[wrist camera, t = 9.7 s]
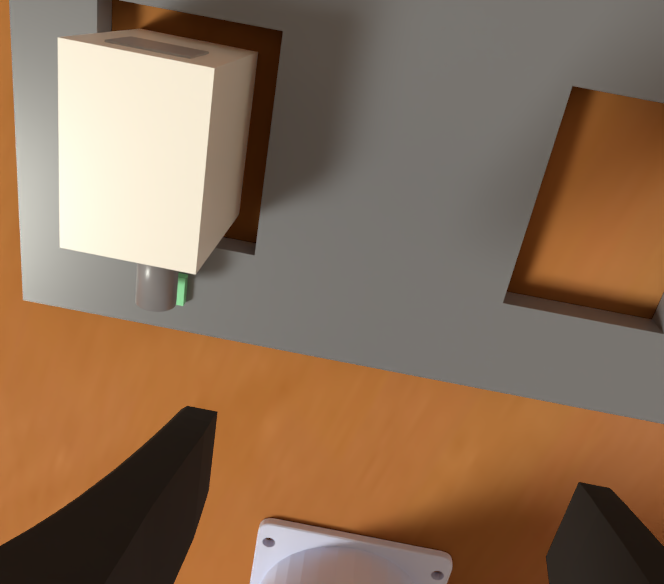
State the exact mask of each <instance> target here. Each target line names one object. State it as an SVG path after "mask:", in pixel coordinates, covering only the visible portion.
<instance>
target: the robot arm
mask: <svg viewBox="0 0 664 584" xmlns="http://www.w3.org/2000/svg"><path fill="white" fill-rule="evenodd" d="M216 420H217V412H216V411H211V410H206V409H200V408H195V407H190V406H186V407H185V408H183V409H181V410H180V411H179V412H178V413H177V414H176V415H175V416H174V417H173V418H172V419H171V420H170V421H169V422H168V423H167V424H166V425H165V426H164V427H163V428H162V429H161V430H159V431H158V432H157V433H156V434H155V435H154V436H153V437H152V438H151V439H150V440H149V441H147V442H146V443H145V444H144V445H143V446H142V447H141V448H139V449H138V450H137V451H136V452H135V453H134V454H132V455H131V456H130V457H129V458H128V459H126V460H125V461H124V462H123V463H122V464H121V465H119V466H118V467H117V468H116V469H114V470H113V471H112V472H111V473H109V474H108V475H107V476H105V477H104V478H103V479H101V480H100V481H99V482H98V483H96V484H95V485H94V486H92V487H91V488H90V489H88V490H87V491H86V492H84V493H83V494H82V495H80V496H79V497H78V498H76V499H75V500H73V501H72V502H70V503H69V504H67V505H66V506H65V507H63V508H62V509H60V510H59V511H57V512H56V513H54V514H53V515H51V516H49V517H48V518H46V519H45V520H43V521H42V522H40V523H38V524H37V525H35V526H34V527H32V528H30V529H29V530H27V531H25V532H24V533H22V534H20V535H18V536H17V537H15V538H13V539H11V540H10V541H8V542H6V543H5V544H3V545H1V546H0V584H174V582H175V579H176V577H177V575H178V573H179V570H180V568H181V566H182V564H183V561H184V559H185V557H186V554H187V552H188V550H189V548H190V545H191V543H192V541H193V538H194V535H195V532H196V529H197V526H198V523H199V520H200V517H201V514H202V510H203V507H204V504H205V501H206V498H207V494H208V491H209V483H210V474H211V465H212V456H213V447H214V438H215V429H216ZM266 538H271V539H273V540H268V539H266ZM546 561H547V569H548V578H549V584H664V546H663V545H662V544H661V543H660V542H659V541H658V540H657V539H656V538H655V536H654V535H653V534H652V533H651V532H650V531H649V530H648V529H647V528H646V526H645V525H644V524H643V523H642V522H641V521H640V520H639V519H638V518H637V516H636V515H635V514H634V513H633V512H632V511H631V510H630V509H629V508H628V507H627V505H626V504H625V503H624V502H623V501H622V500H621V499H620V498H619V497H618V496H617V495H616V494H615V493H614V492H613V491H612V490H611V489H610V488H607V487H601V486H596V485H591V484H586V483H581V482H579V483H578V485H577V488H576V490H575V492H574V494H573V497H572V499H571V501H570V503H569V506H568V508H567V510H566V513H565V515H564V517H563V519H562V522H561V524H560V526H559V528H558V531H557V533H556V535H555V538H554V540H553V542H552V544H551V547H550V549H549V551H548V553H547V556H546ZM452 566H453V564H452V558H451V556H450V555H449V554H448V553H446V552H443V551H439V550H434V549H429V548H423V547H418V546H413V545H408V544H403V543H398V542H393V541H388V540H383V539H377V538H372V537H367V536H362V535H357V534H352V533H347V532H342V531H337V530H332V529H326V528H321V527H316V526H311V525H306V524H301V523H296V522H291V521H286V520H280V519H275V518H267V519H264V520H263V521H261V523H260V526H259V530H258V536H257V542H256V549H255V555H254V561H253V567H252V573H251V579H250V584H447V582H448V579H449V576H450V574H451V571H452ZM434 571H440V572H434Z"/></svg>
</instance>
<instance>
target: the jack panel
mask: <svg viewBox="0 0 664 584" xmlns="http://www.w3.org/2000/svg"><path fill="white" fill-rule="evenodd" d="M121 1H127V2H132V3H137V4H142V5H148V6H153V7H158V8H163V9H169V10H174V11H179V12H185V13H190V14H195V15H200V16H206V17H211V18H216V19H222V20H227V21H232V22H237V23H243V24H248V25H253V26H258V27H264V28H269V29H274V30H280V31H283V35H282V43H281V51H280V59H279V67H278V74H277V82H276V90H275V98H274V106H273V114H272V122H271V130H270V138H269V146H268V154H267V161H266V169H265V177H264V185H263V193H262V201H261V209H260V217H259V225H258V233H257V241H256V243H252V242H246V241H241V240H236V239H231V238H225V237H222V239H221V240H220V242H219V243H218V244H217V246H216V247H215V249H214V250H213V251H212V253H211V254H210V255H209V257H208V258H207V260H206V261H205V262H204V264H203V265H202V266H201V268H200V269H199V271H198V272H197V273H196V275H195V274H190V273H185V272H180V271H179V275H178V288H177V301H176V306H175V307H174V308H173V309H171V310H168V311H163V312H152V311H147V310H144V309H141V308H140V307H138V306H137V305H136V303H135V298H136V277H137V263H135V262H130V261H125V260H120V259H115V258H110V257H105V256H100V255H95V254H90V253H85V252H80V251H75V250H70V249H65V248H60V237H59V134H58V37H65V36H75V35H84V34H93V33H103V32H111V31H112V0H9V6H10V28H11V49H12V71H13V92H14V114H15V136H16V157H17V179H18V200H19V222H20V243H21V265H22V287H23V300H26V301H31V302H36V303H41V304H46V305H51V306H57V307H62V308H67V309H72V310H77V311H82V312H88V313H93V314H98V315H103V316H108V317H113V318H119V319H124V320H129V321H134V322H139V323H144V324H150V325H155V326H160V327H165V328H170V329H175V330H181V331H186V332H191V333H196V334H201V335H206V336H212V337H217V338H222V339H227V340H232V341H237V342H243V343H248V344H253V345H258V346H263V347H268V348H274V349H279V350H284V351H289V352H294V353H300V354H305V355H310V356H315V357H320V358H325V359H331V360H336V361H341V362H346V363H351V364H356V365H362V366H367V367H372V368H377V369H382V370H387V371H393V372H398V373H403V374H408V375H413V376H418V377H424V378H429V379H434V380H439V381H444V382H449V383H455V384H460V385H465V386H470V387H475V388H480V389H486V390H491V391H496V392H501V393H506V394H511V395H517V396H522V397H527V398H532V399H537V400H542V401H548V402H553V403H558V404H563V405H568V406H573V407H579V408H584V409H589V410H594V411H599V412H604V413H610V414H615V415H620V416H625V417H630V418H635V419H641V420H646V421H651V422H656V423H661V424H664V293H663V295H662V298H661V300H660V302H659V305H658V307H657V309H656V311H655V314H654V316H653V318H652V319H647V318H642V317H636V316H631V315H626V314H621V313H616V312H610V311H605V310H600V309H595V308H590V307H584V306H579V305H574V304H569V303H564V302H558V301H553V300H548V299H543V298H538V297H532V296H527V295H522V294H517V293H512V292H507V288H508V285H509V282H510V279H511V276H512V273H513V270H514V267H515V263H516V260H517V257H518V254H519V251H520V248H521V245H522V242H523V239H524V235H525V232H526V229H527V226H528V223H529V220H530V217H531V214H532V211H533V207H534V204H535V201H536V198H537V195H538V192H539V189H540V186H541V183H542V179H543V176H544V173H545V170H546V167H547V164H548V161H549V158H550V155H551V151H552V148H553V145H554V142H555V139H556V136H557V133H558V130H559V127H560V123H561V120H562V117H563V114H564V111H565V108H566V105H567V102H568V99H569V95H570V92H571V89H572V86H575V87H581V88H586V89H591V90H596V91H602V92H607V93H612V94H617V95H623V96H628V97H633V98H639V99H644V100H649V101H654V102H660V103H664V0H121Z"/></svg>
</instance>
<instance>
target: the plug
mask: <svg viewBox="0 0 664 584" xmlns="http://www.w3.org/2000/svg"><path fill="white" fill-rule="evenodd" d="M257 59H258V52H257V51H251V50H246V49H241V48H236V47H231V46H226V45H221V44H216V43H211V42H206V41H201V40H196V39H190V38H185V37H180V36H175V35H170V34H165V33H160V32H155V31H150V30H145V29H131V30H121V31H112V32H103V33H93V34H84V35H75V36H65V37H58V134H59V237H60V248H65V249H70V250H75V251H80V252H85V253H90V254H95V255H100V256H105V257H110V258H115V259H120V260H125V261H130V262H135V263H137V277H136V298H135V303H136V305H137V306H138V307H140V308H141V309H144V310H147V311H152V312H163V311H168V310H171V309H173V308H174V307H175V306H176V301H177V288H178V275H179V271H180V272H185V273H190V274H195V275H196V273H197V272H198V271H199V269H200V268H201V266H202V265H203V264H204V262H205V261H206V260H207V258H208V257H209V255H210V254H211V253H212V251H213V250H214V249H215V247H216V246H217V244H218V243H219V242H220V240H221V239H222V237H223V236H224V235H225V233H226V232H227V231H228V229H229V228H230V226H231V225H232V224H233V222H234V221H235V219H236V218H237V217H238V215H239V211H240V203H241V194H242V186H243V177H244V169H245V161H246V152H247V144H248V135H249V127H250V118H251V110H252V101H253V93H254V85H255V76H256V68H257Z"/></svg>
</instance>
